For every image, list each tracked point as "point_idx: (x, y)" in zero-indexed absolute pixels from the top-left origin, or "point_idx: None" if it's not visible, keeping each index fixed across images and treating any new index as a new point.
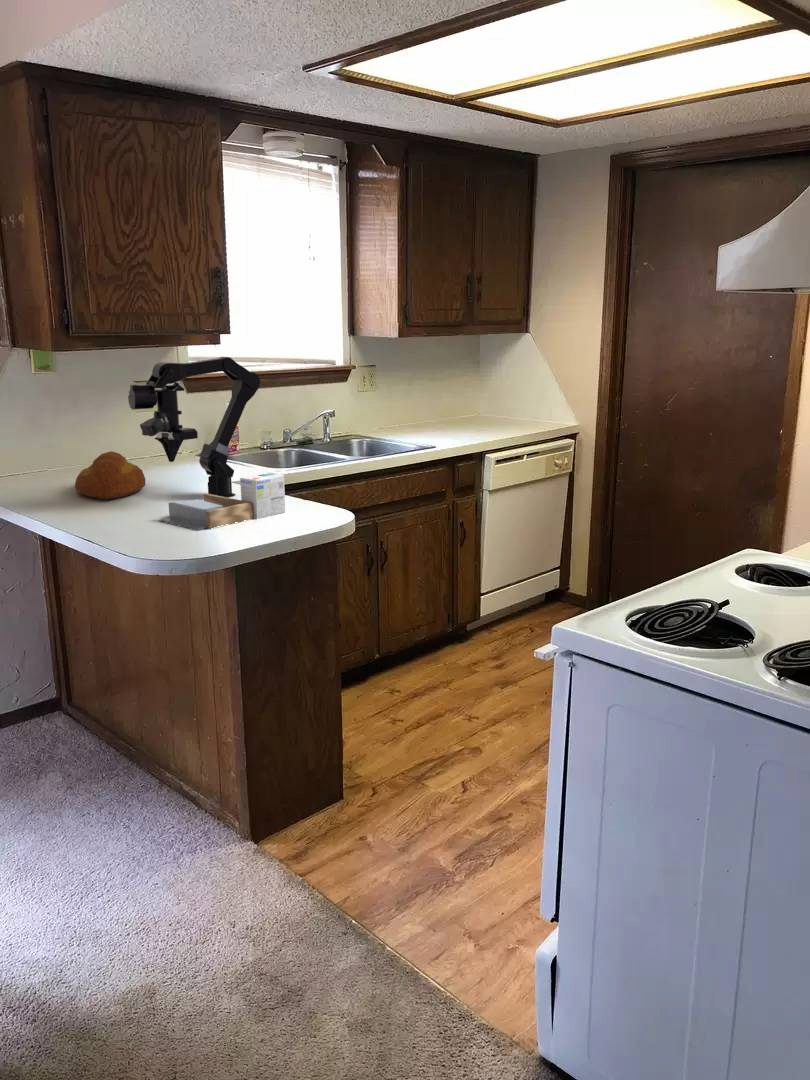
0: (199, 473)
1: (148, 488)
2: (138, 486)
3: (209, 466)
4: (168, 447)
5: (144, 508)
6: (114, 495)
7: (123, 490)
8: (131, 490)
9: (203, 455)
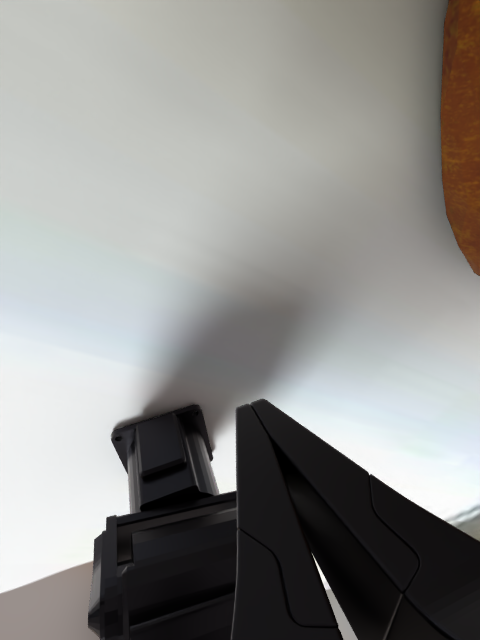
0: (465, 448)
1: (466, 285)
2: (458, 216)
3: (133, 563)
4: (289, 585)
5: (119, 26)
6: (452, 5)
7: (457, 89)
8: (444, 156)
9: (220, 614)
